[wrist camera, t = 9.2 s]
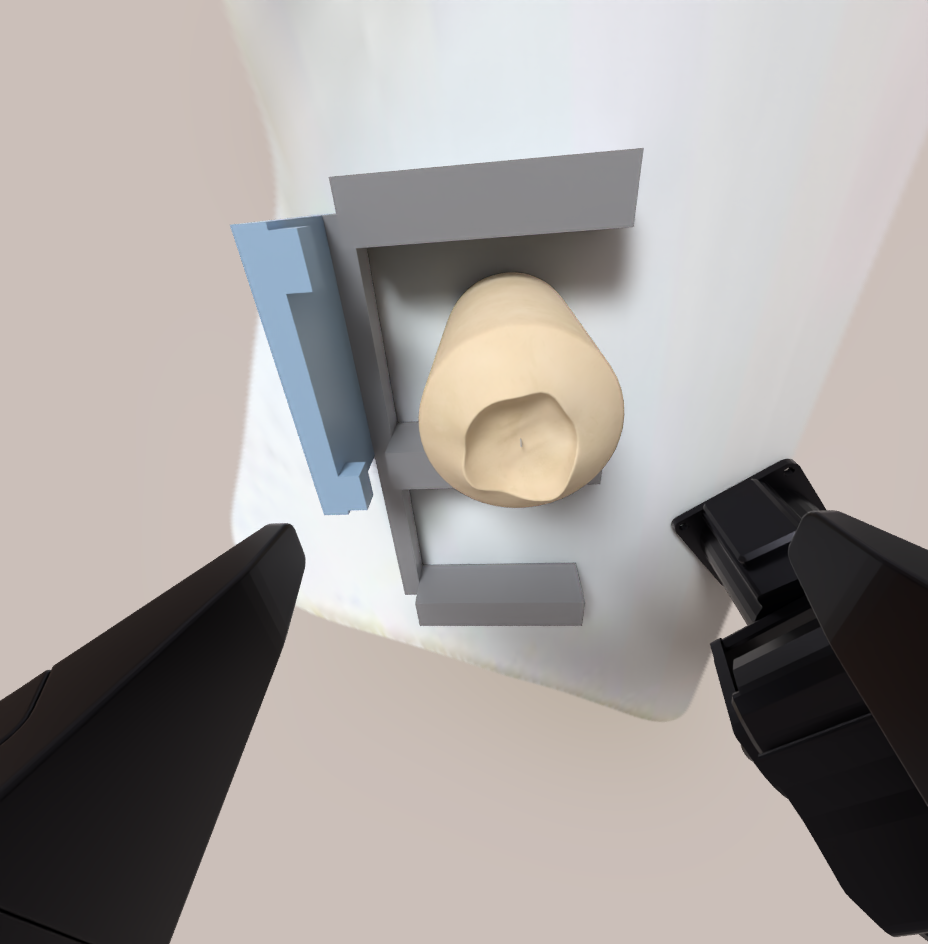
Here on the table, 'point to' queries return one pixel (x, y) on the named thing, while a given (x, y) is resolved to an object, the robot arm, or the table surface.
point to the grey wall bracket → (363, 355)
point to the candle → (518, 397)
